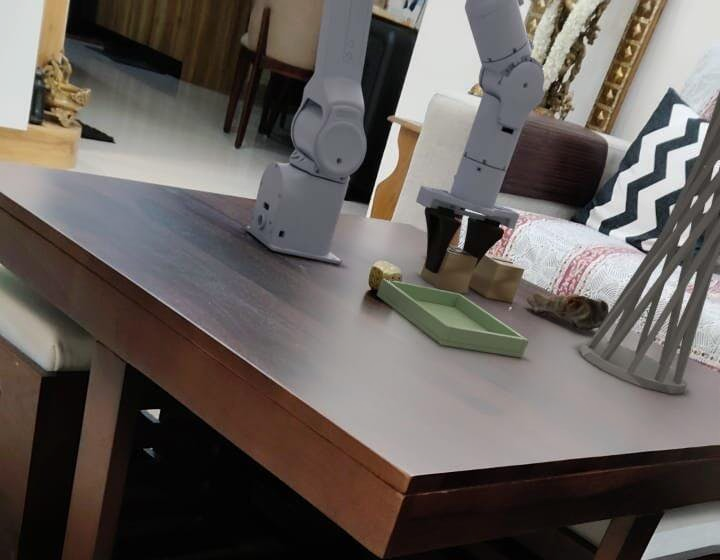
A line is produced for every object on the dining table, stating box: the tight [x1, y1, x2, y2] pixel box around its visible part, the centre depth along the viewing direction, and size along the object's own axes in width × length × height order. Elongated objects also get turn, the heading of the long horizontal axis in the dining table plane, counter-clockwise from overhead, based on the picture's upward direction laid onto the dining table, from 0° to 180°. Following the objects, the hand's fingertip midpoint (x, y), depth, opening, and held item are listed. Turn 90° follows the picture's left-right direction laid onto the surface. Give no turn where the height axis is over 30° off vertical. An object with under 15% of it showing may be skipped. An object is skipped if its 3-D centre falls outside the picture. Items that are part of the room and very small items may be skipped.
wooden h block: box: [420, 245, 478, 294], centre depth 127 cm, size 4×4×5 cm
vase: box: [578, 90, 720, 395], centre depth 112 cm, size 14×13×35 cm
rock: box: [526, 292, 610, 331], centre depth 131 cm, size 9×6×10 cm
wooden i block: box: [468, 252, 526, 304], centre depth 131 cm, size 4×4×5 cm
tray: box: [376, 278, 530, 358], centre depth 110 cm, size 11×14×2 cm
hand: (446, 274), depth 127 cm, fingers closed on wooden h block, 4 cm apart
